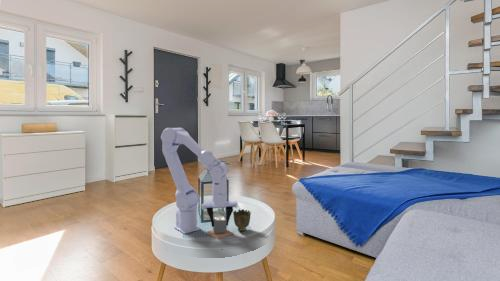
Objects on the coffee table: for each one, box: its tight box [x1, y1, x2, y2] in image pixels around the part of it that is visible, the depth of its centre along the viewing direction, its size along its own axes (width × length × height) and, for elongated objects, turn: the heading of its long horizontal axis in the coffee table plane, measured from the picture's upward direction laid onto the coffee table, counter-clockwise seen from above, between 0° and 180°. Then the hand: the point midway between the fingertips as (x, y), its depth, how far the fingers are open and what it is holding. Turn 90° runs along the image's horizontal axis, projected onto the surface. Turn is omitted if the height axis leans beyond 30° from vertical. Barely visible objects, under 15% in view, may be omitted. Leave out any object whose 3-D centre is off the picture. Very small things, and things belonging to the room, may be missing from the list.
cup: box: [232, 209, 252, 232], centre depth 119 cm, size 8×7×8 cm
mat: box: [205, 229, 234, 240], centre depth 116 cm, size 8×8×1 cm
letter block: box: [212, 216, 228, 233], centre depth 116 cm, size 5×5×5 cm
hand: (219, 225), depth 116 cm, fingers open, 5 cm apart
